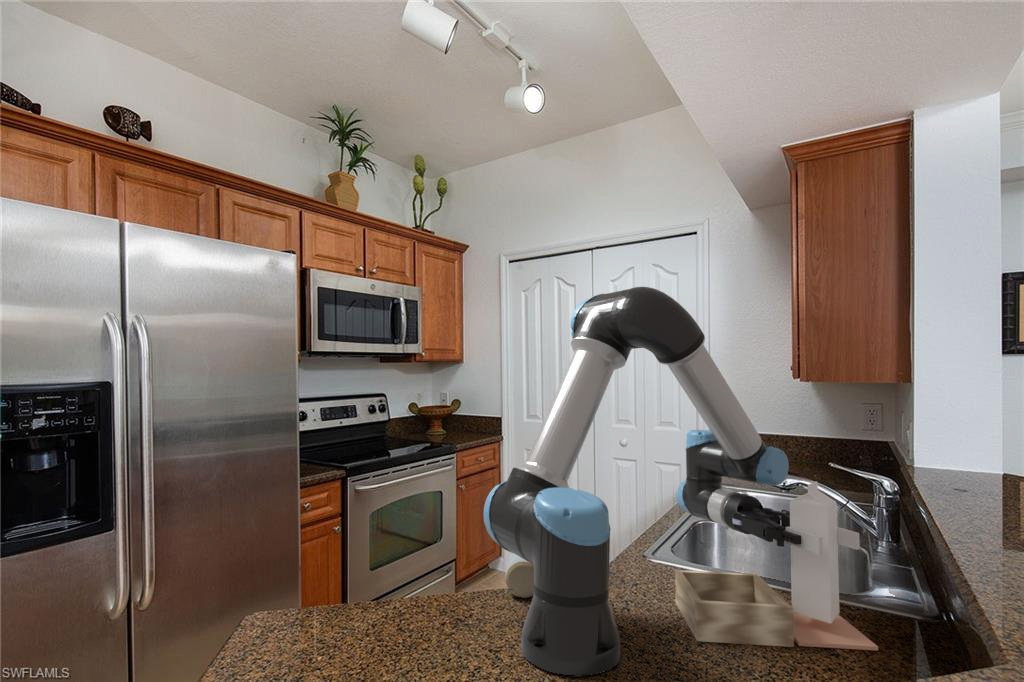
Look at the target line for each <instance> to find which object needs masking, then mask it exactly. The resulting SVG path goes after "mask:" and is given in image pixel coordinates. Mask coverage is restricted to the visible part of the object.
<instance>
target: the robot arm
mask: <svg viewBox="0 0 1024 682" xmlns="http://www.w3.org/2000/svg"><path fill="white" fill-rule="evenodd" d="M570 329H571V330H572V331H571V332H570V333H571V337H572V338H571V341H570V345H571V348H572V351H573V355H572V357H571V358H570V361H569V363H568V366H567V369H566V370H565V372H564V374H563V377H562V379H561V381H560V384H559V386H558V387H557V390H556V392H555V393H554V394H555V395H554V397H553V398H552V402H551V403H550V406H549V408H548V410H547V413H546V414H545V417H544V419H543V421H542V422H541V425H540V427H539V430H538V432H537V434H536V437H535V438H534V441H533V442H532V443H533V444H532V446H531V448H530V450H529V452H528V454H527V456H526V459H525V460H524V461H523V462H521V463H519V464H515V465H514V466H513V468H512V469H511V471H510V473H509V475H508V478H507V480H505V481H502V482H501V483H499V484H497V485H495V486H494V487H493V488H492V489H491V491H490V492H489V494H488V495H487V497H486V499H485V502H484V507H483V522H484V526H485V528H486V531H487V533H488V535H489V536H490V537H491V539H492V540H493V541H494V542H495V543H496V544H498V546H499V547H501V548H502V549H503V550H505V551H507V552H509V553H510V554H511V553H514V554H516V555H518V556H519V557H521V558H523V559H525V560H527V561H528V562H530V563H532V564H534V593H533V596H532V598H531V602H530V605H529V609H528V610H527V614H526V617H525V620H524V623H523V625H522V626H523V627H522V629H521V639H520V640H521V643H520V649H521V653H522V655H523V656H524V658H525V659H526V660H527V662H529V663H530V662H531V663H530V664H531V665H533V664H534V665H533V666H535V665H536V666H537V667H536V666H535V667H536V668H538V667H539V668H538V669H540V668H541V670H543V669H544V670H543V671H545V670H546V671H545V672H548V671H549V672H548V673H551V672H553V673H552V674H555V673H558V674H557V675H559V674H565V675H574V676H573V677H583V676H582V675H591V674H596V673H600V672H603V671H606V672H608V671H610V670H611V669H610V668H612V667H613V668H614V667H615V666H617V665H618V663H619V661H620V658H621V638H620V634H619V631H618V628H617V627H618V626H617V624H616V620H615V617H614V615H613V611H612V607H611V604H610V598H609V597H610V592H609V591H610V587H609V586H610V553H611V552H610V550H611V549H610V544H611V541H610V540H611V539H610V538H611V525H610V518H609V517H610V516H609V509H608V506H607V504H606V503H605V501H603V500H602V499H601V498H600V497H599V496H597V495H595V494H593V493H592V492H591V493H590V492H588V491H584V490H582V489H578V490H577V489H574V488H571V487H570V485H569V484H568V481H569V479H570V476H571V473H572V471H573V469H574V466H575V464H576V462H577V460H578V457H579V455H580V452H581V451H582V450H581V449H582V448H583V445H584V443H585V440H586V438H587V436H588V433H589V431H590V429H591V426H592V424H593V422H594V419H595V417H596V414H597V412H598V409H599V407H600V405H601V402H602V400H603V397H604V395H605V394H606V391H607V388H608V385H609V383H610V381H611V378H612V376H613V373H614V371H615V370H618V369H622V368H623V367H625V365H626V363H627V360H628V359H629V356H630V354H631V351H632V350H633V349H634V350H635V349H646V350H648V351H649V352H651V353H652V355H654V357H655V359H656V360H657V361H658V363H660V364H662V365H666V366H667V367H668V368H669V369H670V371H671V373H672V374H673V376H674V377H675V379H676V381H677V382H678V384H679V385H680V386H681V388H682V390H683V391H684V393H685V394H686V395H687V397H688V399H689V400H690V402H691V403H692V405H693V406H694V407H695V409H696V411H697V413H698V414H699V415H700V417H701V418H702V420H703V421H704V423H705V425H706V426H707V428H708V429H691V430H689V431H688V432H687V433H686V442H685V443H686V444H685V445H686V447H685V465H686V466H685V467H686V468H685V469H686V474H685V475H686V478H685V480H684V481H682V483H680V484H679V486H678V489H677V491H676V495H675V496H676V502H677V504H678V506H679V507H680V509H682V510H683V511H684V512H685V513H688V514H690V515H691V516H693V517H695V518H700V519H703V520H706V521H708V522H712V523H715V524H718V525H720V526H722V527H723V528H724V529H725V530H729V529H731V530H732V531H733V530H734V531H736V532H739V533H741V534H745V535H752V536H754V537H757V538H759V539H761V540H764V541H766V542H768V543H772V542H774V541H776V546H777V547H785V544H788V545H790V546H791V545H794V546H796V547H799V548H802V549H805V550H808V551H811V552H814V553H816V554H819V555H820V554H823V541H822V537H820V536H817V535H814V534H811V533H808V532H804V531H801V530H798V529H795V528H792V527H790V510H787V509H781V511H778V510H774V509H773V508H771V507H765V506H763V505H762V502H761V501H760V500H759V499H758V498H757V497H755V496H753V495H748V494H745V493H740V492H738V491H734V490H730V489H726V488H723V487H722V486H723V484H722V482H723V478H728V479H734V480H739V481H743V482H749V483H754V484H758V485H764V486H765V485H767V486H775V487H776V486H779V485H781V484H783V482H784V481H785V479H786V478H787V476H788V475H789V469H790V468H789V464H790V463H789V459H788V457H787V454H786V452H784V450H782V449H780V448H779V447H778V448H777V447H774V446H772V445H770V446H767V445H766V443H765V442H764V441H763V439H762V437H761V435H760V434H759V432H758V431H757V429H756V428H755V425H754V424H753V423H752V421H751V420H750V417H749V416H748V415H747V413H746V411H745V409H744V408H743V407H742V405H741V403H740V402H739V400H738V398H737V397H736V395H735V393H734V392H733V390H732V389H731V387H730V385H729V384H728V383H727V381H726V379H725V377H724V376H723V374H722V372H721V371H720V369H719V368H718V366H717V365H716V363H715V361H714V360H713V358H712V356H711V355H710V353H709V352H708V350H707V348H706V346H705V345H704V343H705V342H706V341H705V340H706V336H705V334H704V332H703V330H702V329H701V327H700V326H699V324H698V323H697V321H696V320H695V318H694V317H693V316H692V315H691V314H690V313H689V311H687V310H686V308H684V306H682V305H681V304H680V303H679V302H678V301H676V300H675V299H674V298H673V297H671V296H670V295H668V294H667V293H665V292H664V291H661V290H659V289H656V288H654V287H649V286H636V287H631V288H628V289H623V290H617V291H614V292H608V293H600V294H595V295H593V296H591V297H589V298H587V299H584V300H583V301H582V302H580V303H579V304H578V305H577V306H576V308H575V309H574V311H573V313H572V316H571V319H570ZM837 541H838V545H840V546H843V547H846V548H850V549H853V550H855V551H858V550H861V548H860V533H859V532H858V531H854V530H850V529H847V528H843V527H839V526H837ZM613 668H612V669H613ZM609 669H610V670H609ZM607 670H608V671H607ZM603 673H604V672H603ZM600 674H601V673H600ZM565 675H564V676H565ZM578 675H580V676H578ZM591 676H592V675H591Z"/></svg>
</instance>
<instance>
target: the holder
mask: <svg viewBox="0 0 1024 682" xmlns="http://www.w3.org/2000/svg"><path fill="white" fill-rule="evenodd" d="M674 571H675V572H674V573H675V575H674V576H675V605H676V606H677V608H678V610H679V611H680V613H681V615H682V617H683V618H684V621H685V623H686V624H687V626H688V627H689V630H690V631H691V633H692V635H693V637H694V638H695V640H696V641H697V642H703V643H705V642H707V643H721V644H723V643H724V644H737V645H738V644H739V645H756V646H768V647H769V646H771V647H772V646H773V647H787V648H788V647H790V648H794V647H795V641H794V626H793V607H792V604H790V603H789V602H788V601H786V599H784V598H783V597H782V596H781V595H780V594H779V593H778V592H777V591H776V590H774V588H772V587H771V585H770V584H768V583H767V582H766V581H765V580H764V579H763V578H762V577H761V576H760V575H759V574H758V573H748V572H747V573H746V572H745V573H744V572H743V573H742V572H725V571H723V572H722V571H704V570H688V569H687V570H684V569H683V570H682V569H675V570H674Z"/></svg>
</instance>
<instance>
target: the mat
mask: <svg viewBox="0 0 1024 682" xmlns="http://www.w3.org/2000/svg"><path fill="white" fill-rule="evenodd" d="M793 626H794V643H796V644H797V646H799V647H811V648H826V649H827V648H829V649H831V648H832V649H844V650H846V649H847V650H862V651H879V646H878V645H877V644H876V643H874V642H873V641H872V640H870V639H869V637H867V636H865V635H864V634H863V633H862V632H861V631H859V629H857V628H856V627H854V626H853V625H852V624H851V623H850V622H848V620H846V619H845V618H843V617H842V616H841V615H840V614H838V615H837V617H836V618H835V619H834V621H833V622H832V623H831V624H830V623H827V622H823V621H820V620H816V619H813V618H809V617H806V616H803V615H799V614H796V613H793Z"/></svg>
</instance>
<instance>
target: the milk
mask: <svg viewBox="0 0 1024 682" xmlns="http://www.w3.org/2000/svg"><path fill="white" fill-rule="evenodd" d="M818 488H819V487H818V480H816V481H813V482H811V483H809V484H808V485H807V492H806V493H804V494H801V495H799V496H798V497H795V498H793V499H791V500H790V501H789V511H790V527H792V528H795V529H798V530H801V531H804V532H808V533H811V534H814V535H817V536H820V537H822V541H823V554H820V555H819V554H816V553H814V552H811V551H808V550H805V549H802V548H799V547H796V546H794V545H791V544H790V581H791V582H790V583H791V584H790V585H791V586H790V587H791V588H790V589H791V591H790V592H791V593H790V594H791V606H792V607H793V613H796V614H799V615H803V616H806V617H809V618H813V619H816V620H820V621H823V622H827V623H830V624H831V623H832V622H833V621H834V619H835V618H836V617H837V615H840V581H839V577H840V575H839V554H838V553H839V549H838V548H839V547H838V545H839V544H838V541H837V527H838V516H837V515H838V514H837V513H838V511H837V510H838V509H837V501H836V500H835V499H832V498H831V497H829V496H828V495H827V494H825V493H824V492H822V491H821V490H819V489H818Z"/></svg>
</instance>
